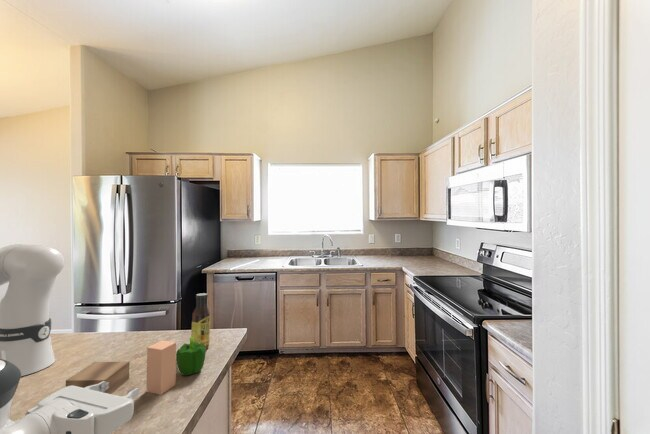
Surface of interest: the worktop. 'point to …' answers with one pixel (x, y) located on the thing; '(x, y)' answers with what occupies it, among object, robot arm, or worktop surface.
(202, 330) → the sauce bottle
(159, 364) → the terracotta block
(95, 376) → the walnut block
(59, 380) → the worktop surface
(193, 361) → the bell pepper
